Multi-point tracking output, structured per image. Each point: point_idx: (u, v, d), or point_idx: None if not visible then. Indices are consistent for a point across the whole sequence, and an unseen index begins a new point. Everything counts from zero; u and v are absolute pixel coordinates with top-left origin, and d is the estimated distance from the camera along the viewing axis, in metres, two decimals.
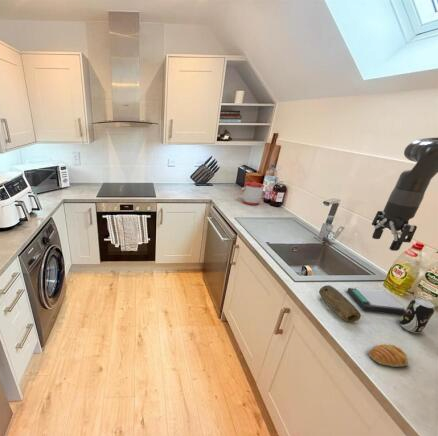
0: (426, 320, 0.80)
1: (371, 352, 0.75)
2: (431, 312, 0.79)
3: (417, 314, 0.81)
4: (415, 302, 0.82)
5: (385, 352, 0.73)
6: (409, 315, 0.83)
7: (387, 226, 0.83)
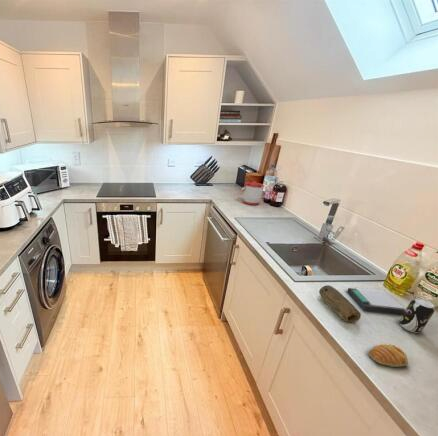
0: (426, 320, 0.80)
1: (371, 352, 0.75)
2: (431, 312, 0.79)
3: (417, 314, 0.81)
4: (415, 302, 0.82)
5: (385, 352, 0.73)
6: (409, 315, 0.83)
7: None
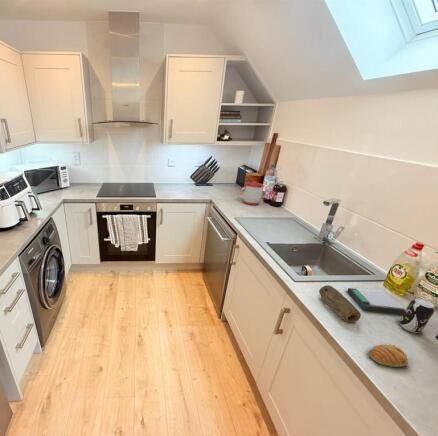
0: (426, 320, 0.80)
1: (371, 352, 0.75)
2: (431, 312, 0.79)
3: (417, 314, 0.81)
4: (415, 302, 0.82)
5: (385, 352, 0.73)
6: (409, 315, 0.83)
7: None
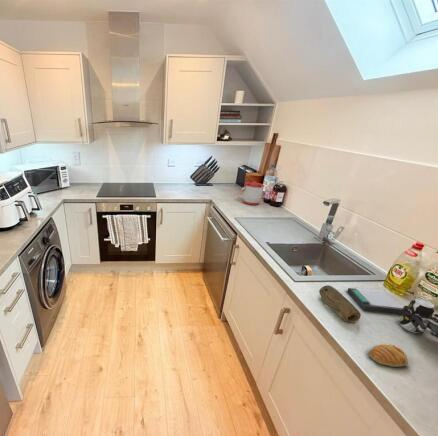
0: None
1: (371, 352, 0.75)
2: (431, 312, 0.79)
3: None
4: (415, 302, 0.82)
5: (385, 352, 0.73)
6: (409, 315, 0.83)
7: None
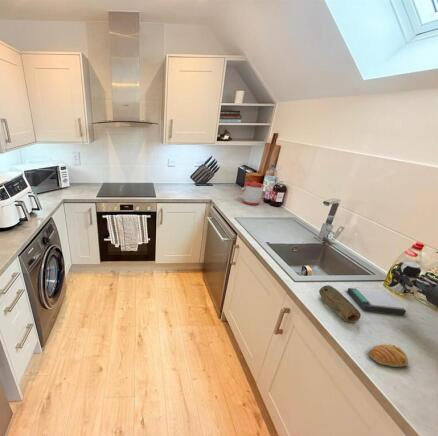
0: None
1: (371, 352, 0.75)
2: (418, 272, 0.82)
3: None
4: (403, 263, 0.85)
5: (385, 352, 0.73)
6: (397, 276, 0.86)
7: None
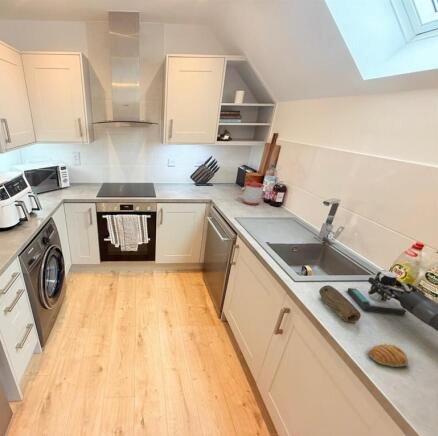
0: (390, 289, 0.91)
1: (371, 352, 0.75)
2: (394, 281, 0.89)
3: None
4: (380, 273, 0.92)
5: (385, 352, 0.73)
6: None
7: None
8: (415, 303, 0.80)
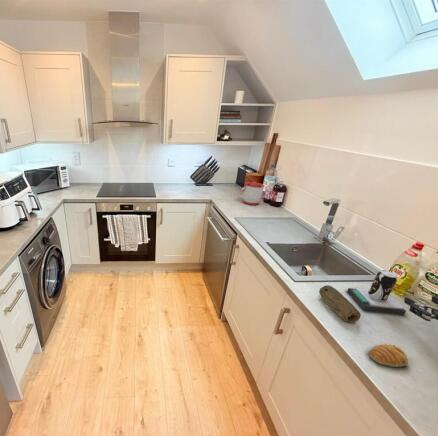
0: (390, 289, 0.91)
1: (371, 352, 0.75)
2: (394, 281, 0.89)
3: (382, 284, 0.91)
4: (380, 273, 0.92)
5: (385, 352, 0.73)
6: (376, 285, 0.93)
7: None
8: None
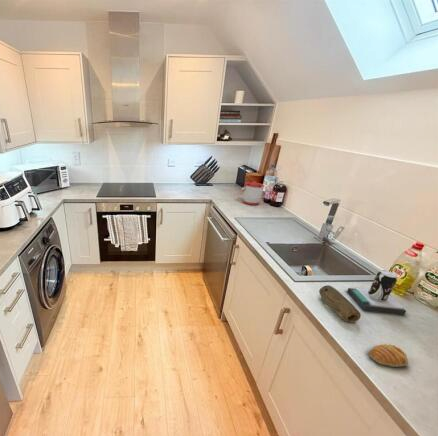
0: (390, 289, 0.91)
1: (371, 352, 0.75)
2: (394, 281, 0.89)
3: (382, 284, 0.91)
4: (380, 273, 0.92)
5: (385, 352, 0.73)
6: (376, 285, 0.93)
7: None
8: None
